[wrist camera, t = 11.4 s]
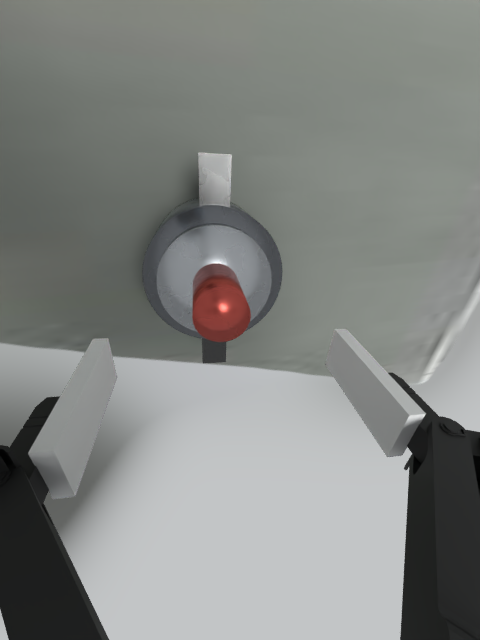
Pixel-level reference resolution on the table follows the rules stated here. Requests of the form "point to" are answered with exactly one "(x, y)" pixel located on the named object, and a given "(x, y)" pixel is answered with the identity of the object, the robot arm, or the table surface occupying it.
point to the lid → (214, 280)
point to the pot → (201, 211)
